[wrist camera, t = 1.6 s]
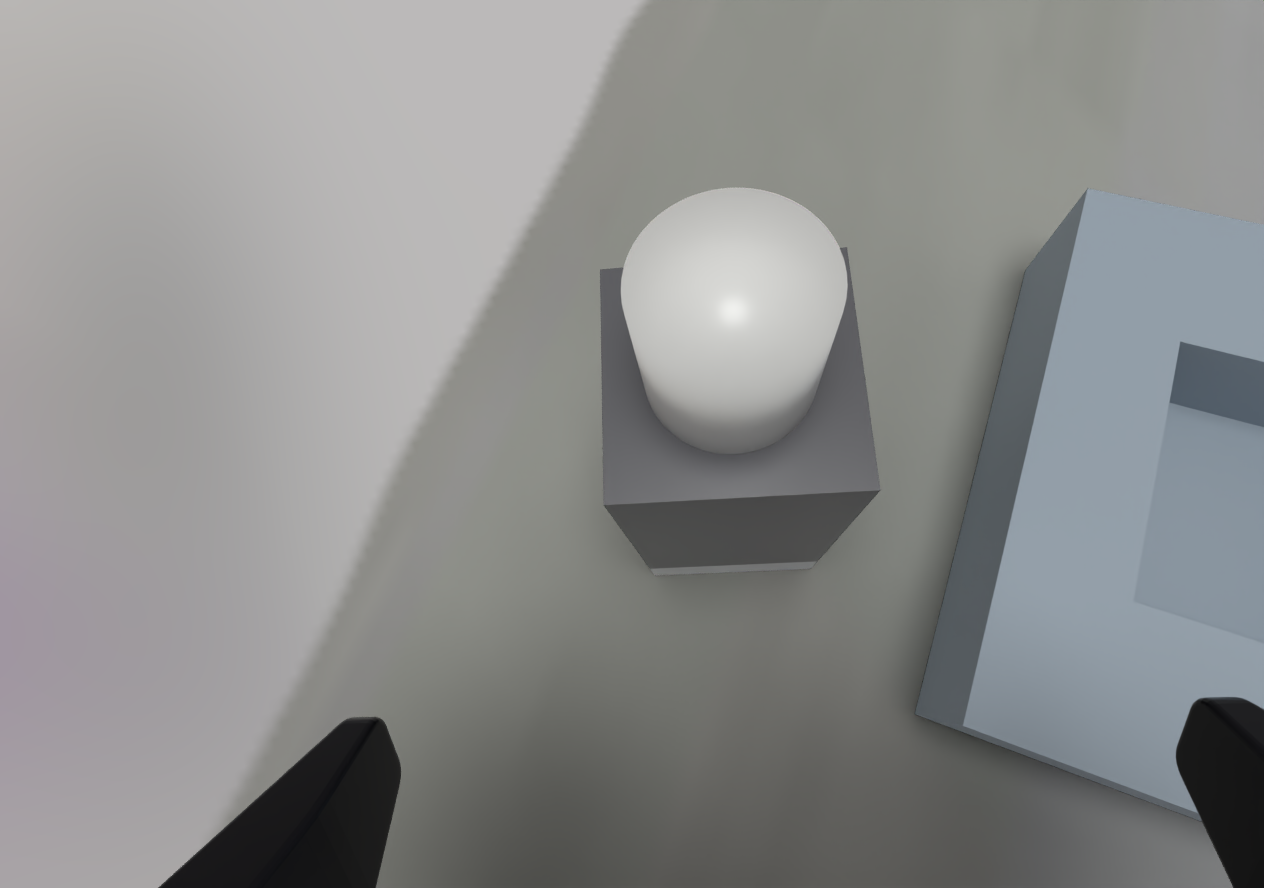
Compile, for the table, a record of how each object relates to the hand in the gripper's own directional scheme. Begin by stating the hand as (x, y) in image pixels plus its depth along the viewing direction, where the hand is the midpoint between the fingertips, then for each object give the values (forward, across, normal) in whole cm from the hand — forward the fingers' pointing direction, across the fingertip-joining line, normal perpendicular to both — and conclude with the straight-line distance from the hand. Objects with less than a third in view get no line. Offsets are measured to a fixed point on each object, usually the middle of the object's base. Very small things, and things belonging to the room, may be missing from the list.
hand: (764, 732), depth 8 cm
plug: (+13, 0, +5) cm, 13 cm away
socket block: (+11, -13, +6) cm, 18 cm away
